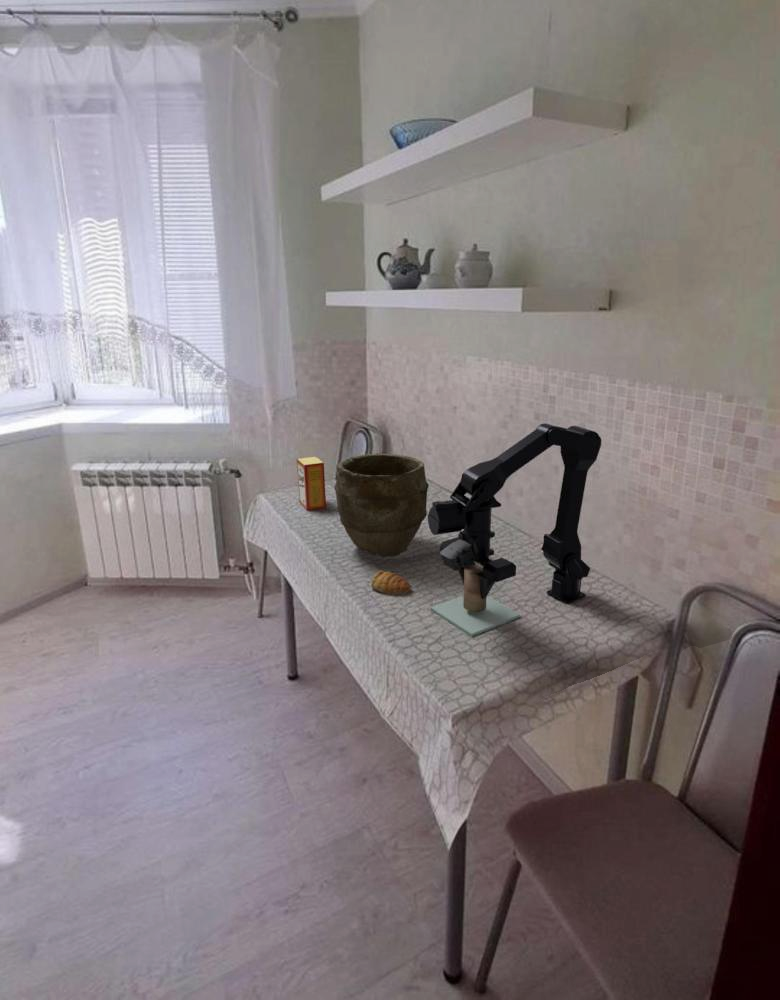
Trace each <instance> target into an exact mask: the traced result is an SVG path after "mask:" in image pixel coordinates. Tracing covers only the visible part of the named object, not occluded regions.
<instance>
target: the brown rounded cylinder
mask: <svg viewBox="0 0 780 1000" xmlns="http://www.w3.org/2000/svg"><path fill="white" fill-rule="evenodd" d="M482 571H483V566H482V565H478V564H476V563H475V564H473V565H469V566H468V567H467V568H464V585H463V596H464V603H463V607H464V608H465V609H466V610H468V611H472V612H480V611H483V610H485V609H486V598H487V597H486V598H485V599H481V593H480V578H479V577H478V576H477V575H476V573H479V572H482Z"/></svg>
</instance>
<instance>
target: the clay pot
mask: <svg viewBox="0 0 780 1000" xmlns="http://www.w3.org/2000/svg"><path fill="white" fill-rule="evenodd" d="M335 473H336V475H335V476H336V481H335V484H334V487H333V488H334V490H335V497H336V503H337V505H336V507H337V511H338V515H339V521H340V523H341V525H342V526H343V527H344V529H345V532H346V533H347V535H348V537H349V539H350V540H351V541H352V543H353V544H354V545H355V546H356V547H357V548H359V549H360V550H361V551H362V552H366V553H369V554H371V555H373V556H378V557H381V558H392V557H398V556H399V555H400V554H403V553H405V552H406V551H407V549H408V547H409V545H410V544H411V542H412V541H413V539H414V538H415V537H416V534H417V533H418V531H419V529H420V528H421V525H422V523H423V521H424V520H425V519H426V517H427V516H428V512H427V511H428V510H427V500H428V490H429V487H430V485H429V483H428V481H427V479H426V469H425V463H424V462H423V461H422V460H421V459H418V458H416V457H412V456H407V455H400V454H395V453H380V452H379V453H375V454H374V453H368V454H361V455H355V456H351V457H350V458H346V459H345V460H342V461H339V463H337V464H336V472H335Z"/></svg>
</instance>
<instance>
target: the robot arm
mask: <svg viewBox="0 0 780 1000" xmlns="http://www.w3.org/2000/svg"><path fill="white" fill-rule="evenodd" d="M552 446H557V447H560V455H561V459H562V462H563V466H564V468H563V469H564V470H563V476H562V481H561V486H560V487H561V488H560V495H559V499H558V500H559V501H558V508H557V513H556V519H555V526H554V528H553V530H552V531H550V533H545V534H544V535H543V543H542V546H541V548H540V550H541V551H542V555H543V558H545V560H546V561H547V562H548V565H549V567H552V568H554V569H555V570H554V571H553V575H552V580H551V589H548V590H547V591H546V594H547V595H549V596H551V597H553V598H555V599H557V600H559V601H561V602H564V603H566V604H570V603H573V602H575V601H578V600H580V599H582V598H584V597H585V598H586V593H585V592H582V591H581V590H582V589H581V588H582V580H583V578H587V577H588V576H589V574H590V571H591V567H590V566H589V565H588V564H587V563H586V562H585V561H583V559H582V544H581V539H580V537H579V534H578V528H579V525H580V519H581V518H580V517H581V513H582V507H583V500H584V495H585V489H586V483H587V478H588V472H589V469H590V468H591V467H592V466H593V465H594V463H595V462H596V461H597V459H598V457H599V453H600V451H601V446H602V438H601V436H600V435H599V434H598V432H597V431H594V430H591V429H588V428H585V427H581V426H578V425H571V426H569V427H567V428H565V427H562V426H556V425H554V424H553V425H552V424H550V423H546V422H545V423H541V424H539V425H538V426H537V427H536V428H535V430H533V431H532V432H530V433H528V434H527V435H526V436H525V437H523V438H522V439H520V440H518V441H517V442H516V443H515V444H513V445H511V446H510V447H509V448H508V449H506V450H505V451H503V452H502V453H500V454H499V455H498V456H496V457H494V458H493V459H490V460H486V461H482V462H478V463H476V464H475V465H473V466H470V467H469V468H467V469H466V470H464V472H462V474H461V479H460V481H459V483H458V484H457V485H456V487H455V488H454V489H453V492H452V493H451V494H450V497H449V498H450V499H451V500H444V501H441V500H439V501H437V500H436V501H432V503H431V504H432V505H431V507H430V509H429V511H428V513H427V522H428V523H427V524H428V527H429V530H430V532H431V534H432V535H434V536H439V535H443V534H444V535H445V534H451V533H456V532H458V534H457V536H458V537H457V536H456V537H453V538H450V539H446V540H443V541H442V542H441V544H440V545H439V554H440V557H441V560H442V562H443V565H444V566H445V567H448V568H449V569H451V570H452V571H455V572H457V571H458V573H459V574H460V575H459V576H460V577H461V578H460V579H461V582H462V584H463V586H464V568H467V567H468V566H469V565H473V564H476V565H482V566H483V571H482V572H479V573H476V575H477V576H478V577H479V578H480V593H481V599H485V598H486V597H487V596H488V595H489V593H490V591H491V589H492V588H493V586H494V585H495V583H499V582H501V581H504V580H506V579H510V578H512V577H515V576H516V575H517V565H516V564H515V563H514V562H512V561H510V560H509V559H505V558H503V557H499V558H496V559H491V558H490V556H494V555H495V550H494V549H492V548H491V538H492V539H493V538H495V537H496V536H495V535H496V532H494V531H492V509H495V508H501V507H502V503H501V502H500V501H498V499H496V497H495V495H496V494H498V493H499V492H500V490H502V489H503V488H504V485H505V483H506V481H507V480H508V479H509V478H510V477H511V476H512V475H513V474H515V473H516V472H517V471H519V470H521V468H523V467H524V466H526V465H528V464H529V463H530V462H531V461H533V460H534V459H535V458H537V457H539V456H540V455H541V454H543V453H544V452H546V451H547V450H548V449H550V448H551V447H552ZM466 494H468V495H469V496H471V497H468V496H466Z"/></svg>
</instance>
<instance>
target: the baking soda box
mask: <svg viewBox="0 0 780 1000" xmlns="http://www.w3.org/2000/svg"><path fill="white" fill-rule="evenodd" d="M296 468H297V469H296V471H297V472H296V473H297V486H298V487H297V488H298V498H299V500H298V501H299V504H300V505H301V506H302V507H303V508H304V509H305V510H306V511H307V512H309V511H316V510H322V509H327V500H326V499H327V498H326V480H325V477H326V476H325V463H324V462H323V461H322V460H321V459H319V458H318V457H317V456H307V457H300V458H299V457H298V458H296Z"/></svg>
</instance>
